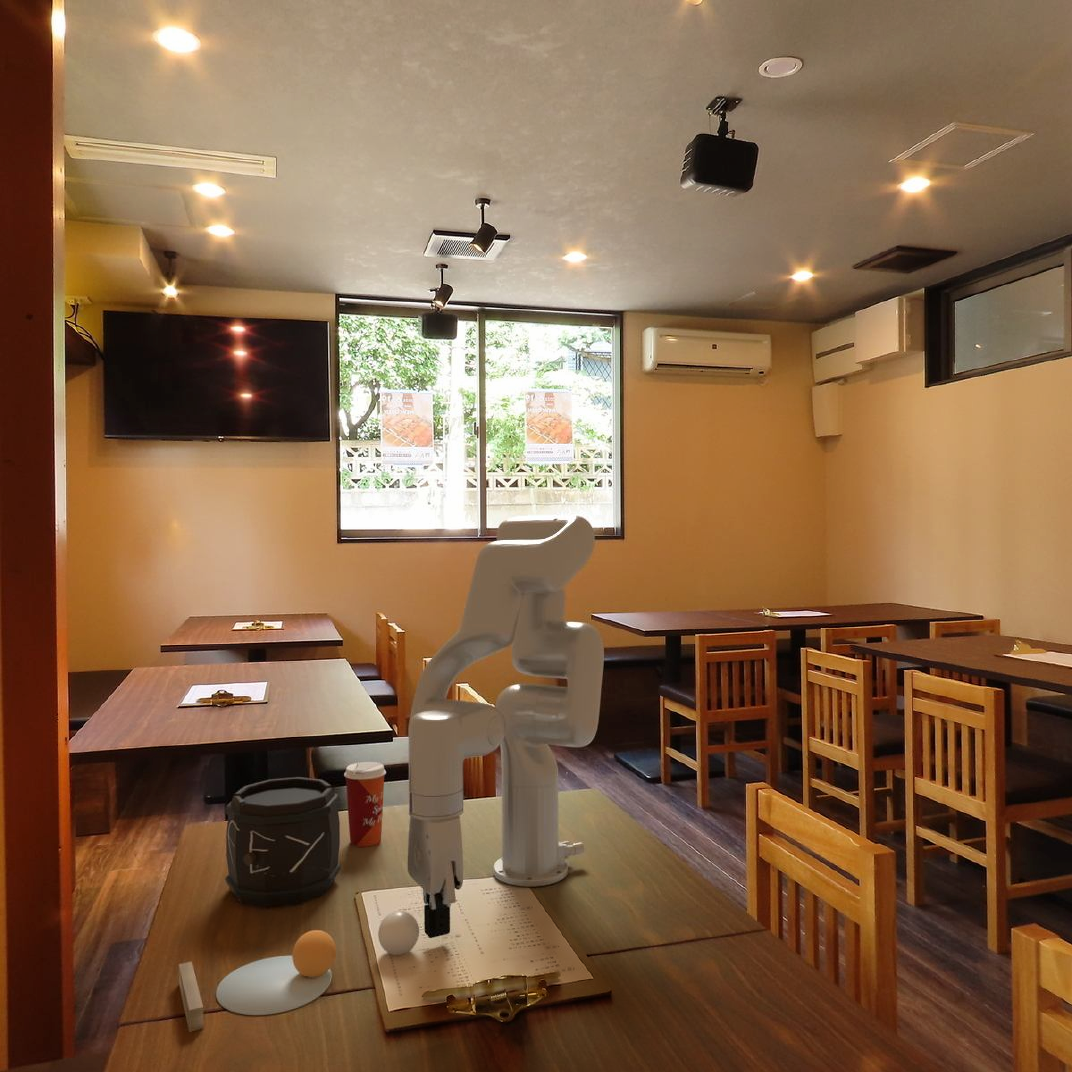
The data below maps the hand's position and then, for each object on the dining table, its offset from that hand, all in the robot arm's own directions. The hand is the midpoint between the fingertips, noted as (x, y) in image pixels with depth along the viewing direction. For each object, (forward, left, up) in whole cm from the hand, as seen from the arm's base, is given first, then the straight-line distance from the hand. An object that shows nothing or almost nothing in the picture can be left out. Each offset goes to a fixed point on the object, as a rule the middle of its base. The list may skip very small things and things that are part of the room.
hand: (437, 933), depth 119 cm
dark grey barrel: (+15, -30, -2) cm, 34 cm away
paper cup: (-3, -44, -2) cm, 44 cm away
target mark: (+22, 0, -2) cm, 22 cm away
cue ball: (+5, 0, +1) cm, 6 cm away
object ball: (+17, 0, +1) cm, 17 cm away
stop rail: (+32, 0, -2) cm, 32 cm away
